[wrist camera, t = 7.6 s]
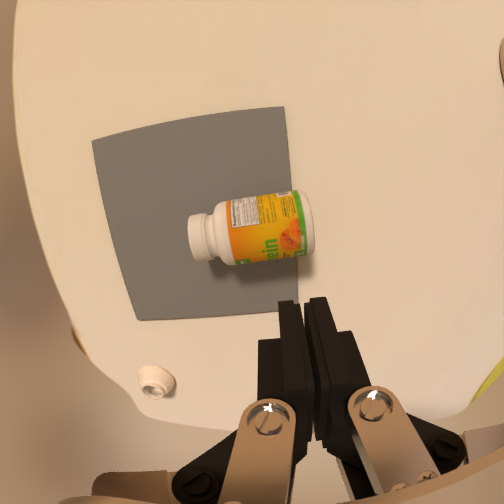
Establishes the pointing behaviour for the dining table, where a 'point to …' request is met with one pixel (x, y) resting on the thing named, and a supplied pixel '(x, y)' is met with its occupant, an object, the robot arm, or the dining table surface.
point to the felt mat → (193, 210)
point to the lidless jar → (155, 382)
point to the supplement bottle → (254, 229)
